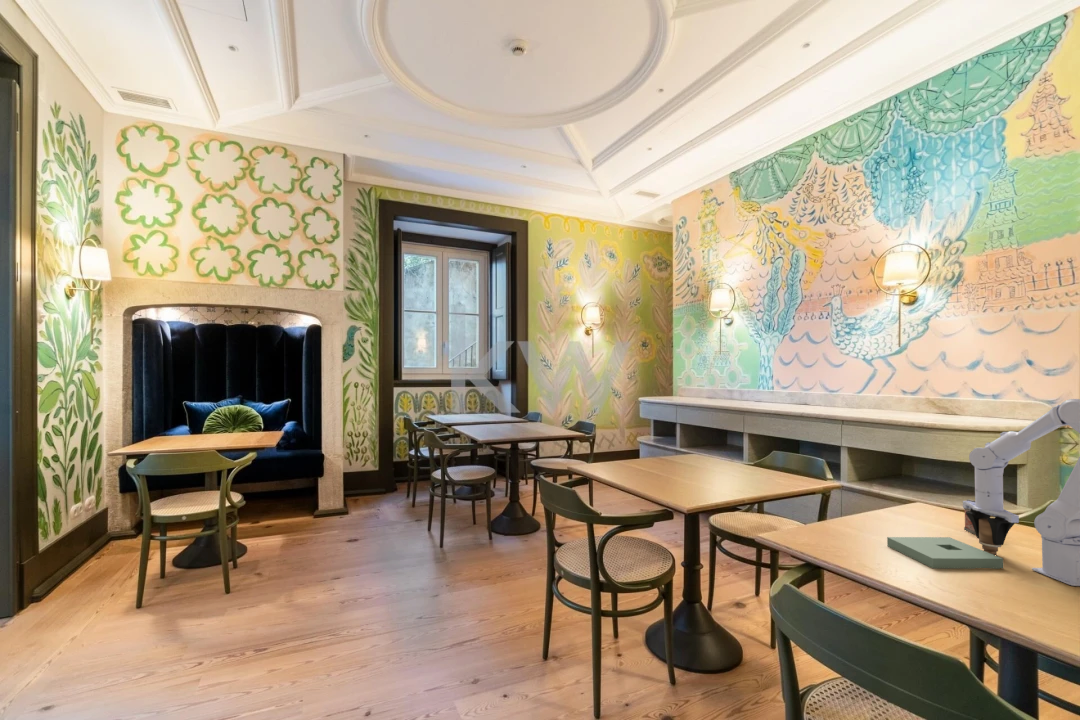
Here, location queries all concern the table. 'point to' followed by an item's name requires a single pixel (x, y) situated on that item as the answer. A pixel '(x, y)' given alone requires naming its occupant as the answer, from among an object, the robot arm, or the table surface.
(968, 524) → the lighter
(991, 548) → the peg
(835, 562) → the table surface
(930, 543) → the board
